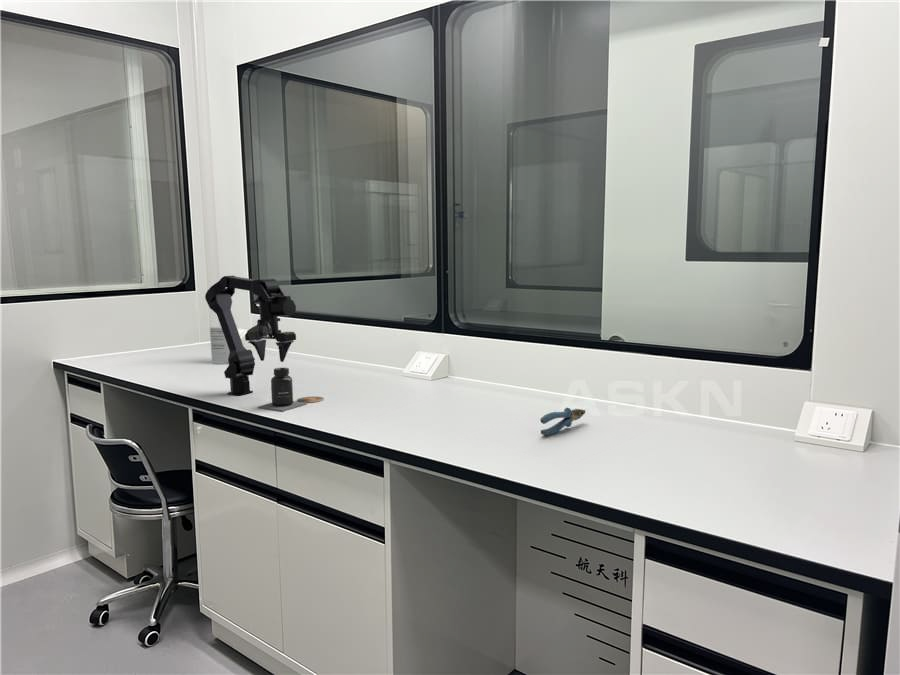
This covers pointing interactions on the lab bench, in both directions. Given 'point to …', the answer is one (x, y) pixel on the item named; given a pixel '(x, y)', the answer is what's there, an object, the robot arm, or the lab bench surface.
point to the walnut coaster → (310, 399)
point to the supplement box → (219, 345)
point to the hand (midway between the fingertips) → (272, 361)
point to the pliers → (567, 420)
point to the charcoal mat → (283, 408)
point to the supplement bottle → (281, 388)
